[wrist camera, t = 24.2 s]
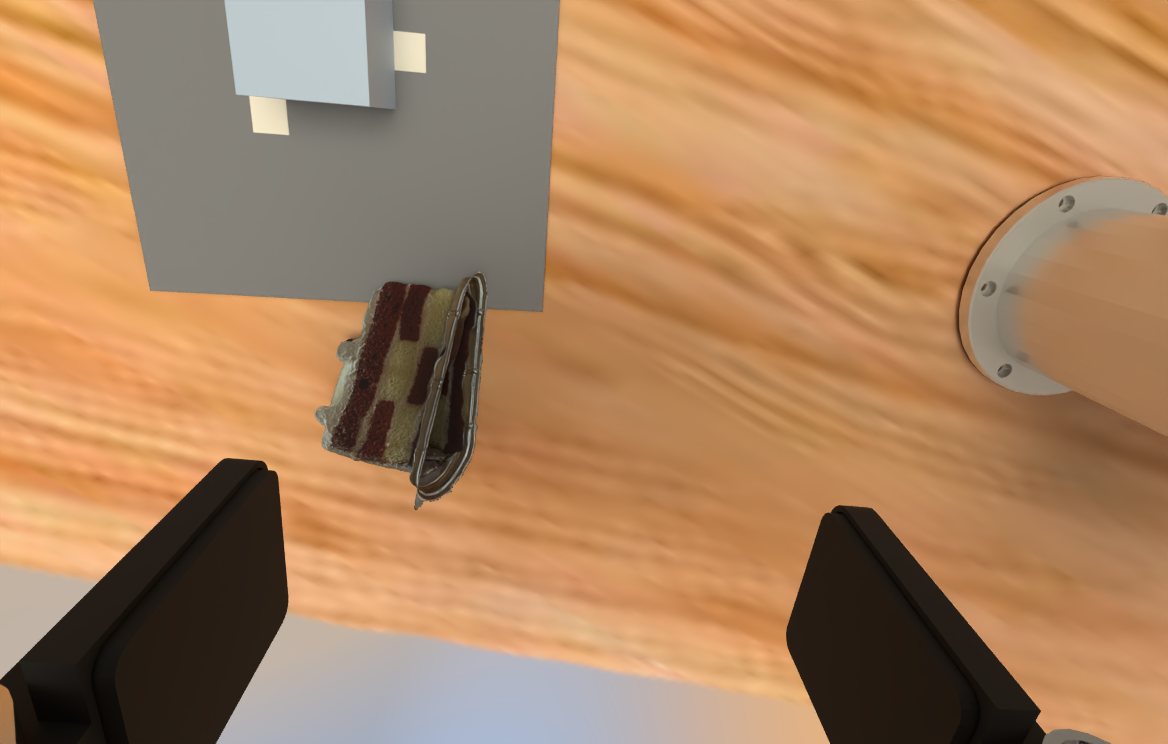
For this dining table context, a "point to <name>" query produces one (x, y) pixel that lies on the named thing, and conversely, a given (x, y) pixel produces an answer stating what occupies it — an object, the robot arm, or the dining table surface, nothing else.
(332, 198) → the letter mat
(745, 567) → the dining table surface
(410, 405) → the chocolate cake
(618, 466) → the dining table surface
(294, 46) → the cube
